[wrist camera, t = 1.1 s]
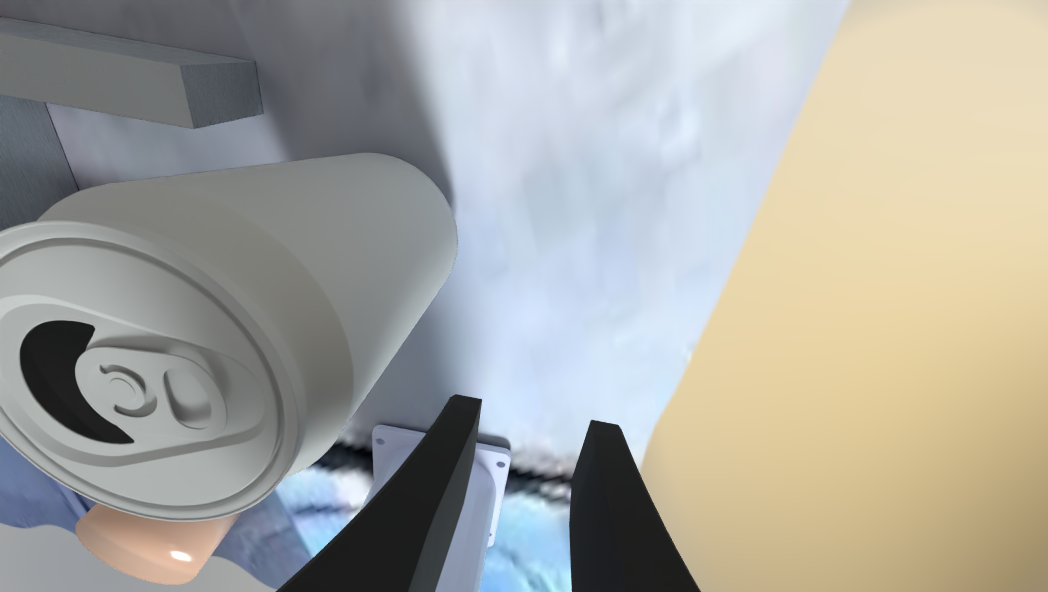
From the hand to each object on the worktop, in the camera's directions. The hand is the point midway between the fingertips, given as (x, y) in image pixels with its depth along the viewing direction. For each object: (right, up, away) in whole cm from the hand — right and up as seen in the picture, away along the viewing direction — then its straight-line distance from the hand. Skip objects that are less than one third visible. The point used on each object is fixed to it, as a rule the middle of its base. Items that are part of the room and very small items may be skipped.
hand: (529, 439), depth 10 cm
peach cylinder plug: (-22, -9, +20) cm, 31 cm away
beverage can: (-6, +6, +8) cm, 12 cm away
